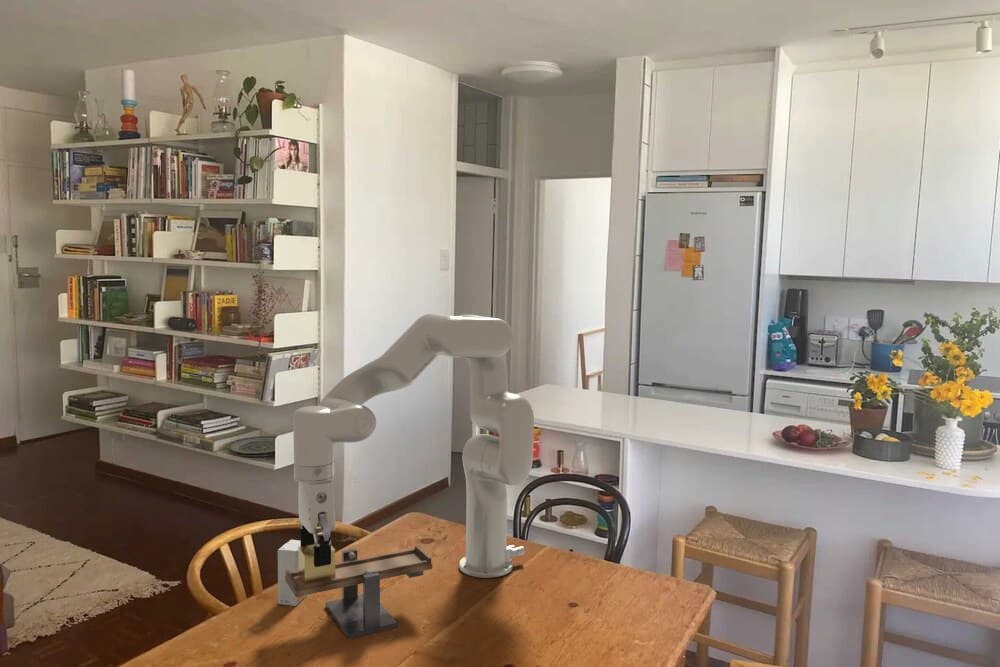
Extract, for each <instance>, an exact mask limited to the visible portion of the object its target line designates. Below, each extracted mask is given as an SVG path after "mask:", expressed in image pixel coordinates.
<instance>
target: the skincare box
mask: <svg viewBox="0 0 1000 667" xmlns="http://www.w3.org/2000/svg"><path fill="white" fill-rule="evenodd" d="M298 547H301V542H300V539H299V540H297V539H290V540H289V541H287V542H286V543H284V544H283V545H282V546H281V547H280V548H278V549H277V603H278V605H283V606H284V605H285V606H291V607H296V606H298V605H299V603H301V602H302V600H304V599H305V598H306V597H307V596H308V595H303V596H299V597H295V595H294V593H293V592H292V590H291V589H290V587H289V585H288V584H287V582H286V581H285V575H286V570H289V571H290V572H295V571H299V562H298Z"/></svg>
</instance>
